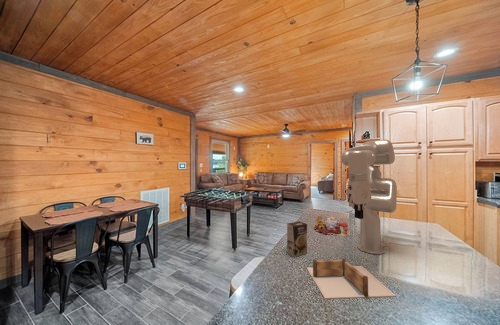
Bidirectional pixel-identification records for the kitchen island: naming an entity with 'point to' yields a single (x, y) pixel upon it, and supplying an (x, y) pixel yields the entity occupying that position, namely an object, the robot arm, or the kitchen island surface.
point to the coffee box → (297, 238)
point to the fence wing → (356, 278)
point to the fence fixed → (328, 268)
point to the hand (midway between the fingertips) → (359, 218)
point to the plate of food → (331, 226)
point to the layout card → (349, 286)
